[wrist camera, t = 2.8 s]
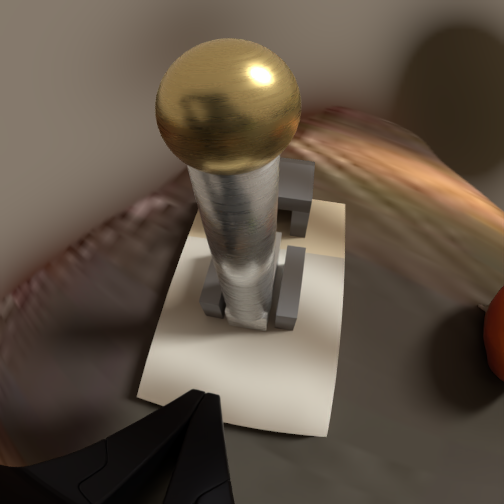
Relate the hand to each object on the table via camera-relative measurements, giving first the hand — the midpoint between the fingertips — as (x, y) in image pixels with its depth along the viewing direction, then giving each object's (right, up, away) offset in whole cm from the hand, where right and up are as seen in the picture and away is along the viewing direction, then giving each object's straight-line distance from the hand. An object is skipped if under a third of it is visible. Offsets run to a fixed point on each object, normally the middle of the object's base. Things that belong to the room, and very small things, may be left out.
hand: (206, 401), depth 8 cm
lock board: (+2, +1, +10) cm, 10 cm away
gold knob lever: (+1, +2, +9) cm, 9 cm away
